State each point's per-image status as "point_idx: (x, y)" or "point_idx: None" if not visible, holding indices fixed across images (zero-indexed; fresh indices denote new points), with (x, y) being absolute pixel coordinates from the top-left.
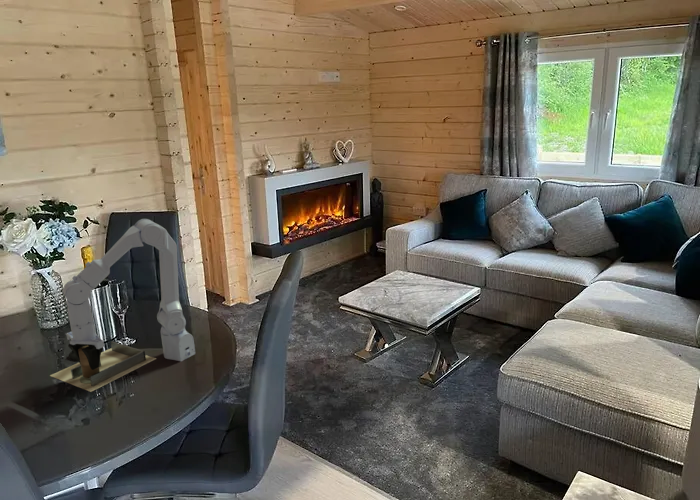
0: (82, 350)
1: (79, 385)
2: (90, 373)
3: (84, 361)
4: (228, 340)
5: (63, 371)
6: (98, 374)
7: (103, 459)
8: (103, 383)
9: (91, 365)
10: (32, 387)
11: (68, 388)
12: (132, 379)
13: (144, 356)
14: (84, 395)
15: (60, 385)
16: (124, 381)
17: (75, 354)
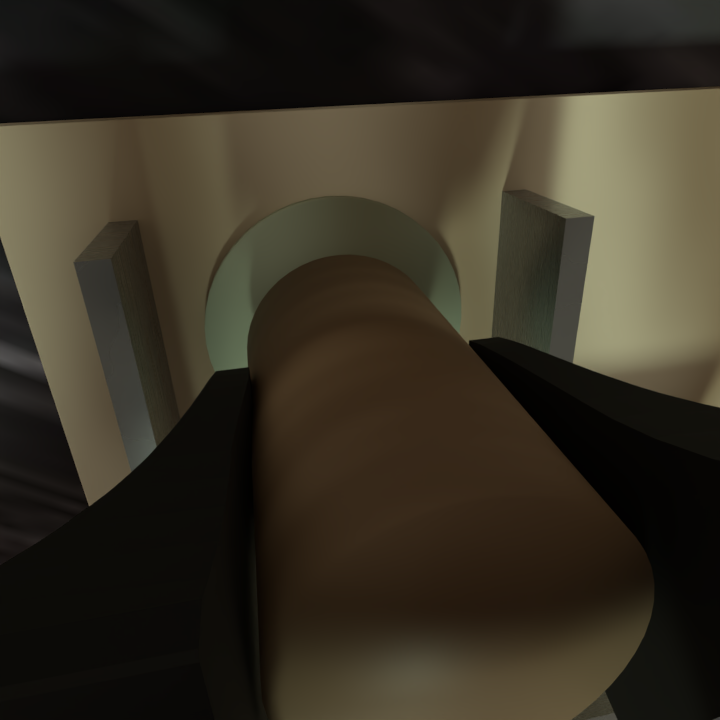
0: (125, 622)
1: (292, 143)
2: (260, 324)
3: (317, 384)
4: None
5: None
6: (108, 369)
7: None
8: (79, 334)
9: (195, 405)
10: None
11: (423, 62)
12: (11, 539)
13: None
14: (57, 67)
15: (576, 53)
16: (33, 483)
17: (656, 398)
